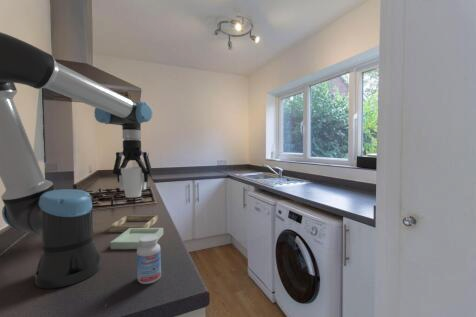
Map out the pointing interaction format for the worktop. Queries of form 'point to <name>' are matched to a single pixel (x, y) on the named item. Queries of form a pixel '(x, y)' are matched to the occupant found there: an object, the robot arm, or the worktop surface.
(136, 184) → the foam cup
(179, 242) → the worktop surface
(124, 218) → the holder
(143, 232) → the tray
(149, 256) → the pill bottle
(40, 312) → the worktop surface
